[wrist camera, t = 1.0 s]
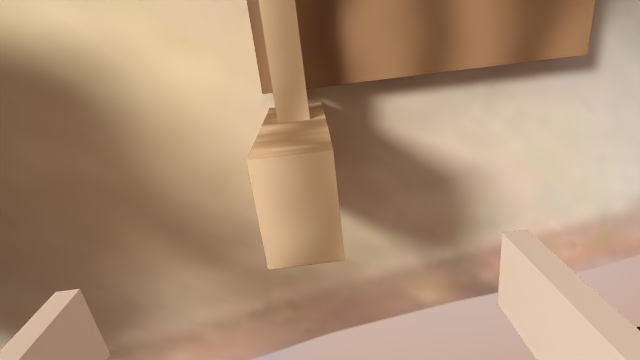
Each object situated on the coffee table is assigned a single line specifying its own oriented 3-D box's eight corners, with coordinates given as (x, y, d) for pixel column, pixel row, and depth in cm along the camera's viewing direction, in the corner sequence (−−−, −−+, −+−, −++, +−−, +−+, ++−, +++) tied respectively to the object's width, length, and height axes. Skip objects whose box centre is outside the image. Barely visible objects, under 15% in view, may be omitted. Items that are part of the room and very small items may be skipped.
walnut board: (266, 88, 27) (262, 94, 25) (242, -53, 24) (236, -62, 22) (563, 52, 27) (588, 54, 25) (582, -95, 24) (613, -109, 21)
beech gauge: (281, 181, 30) (268, 269, 19) (244, -44, 24) (193, -105, 13) (330, 175, 30) (344, 260, 19) (305, -51, 24) (305, -119, 13)
